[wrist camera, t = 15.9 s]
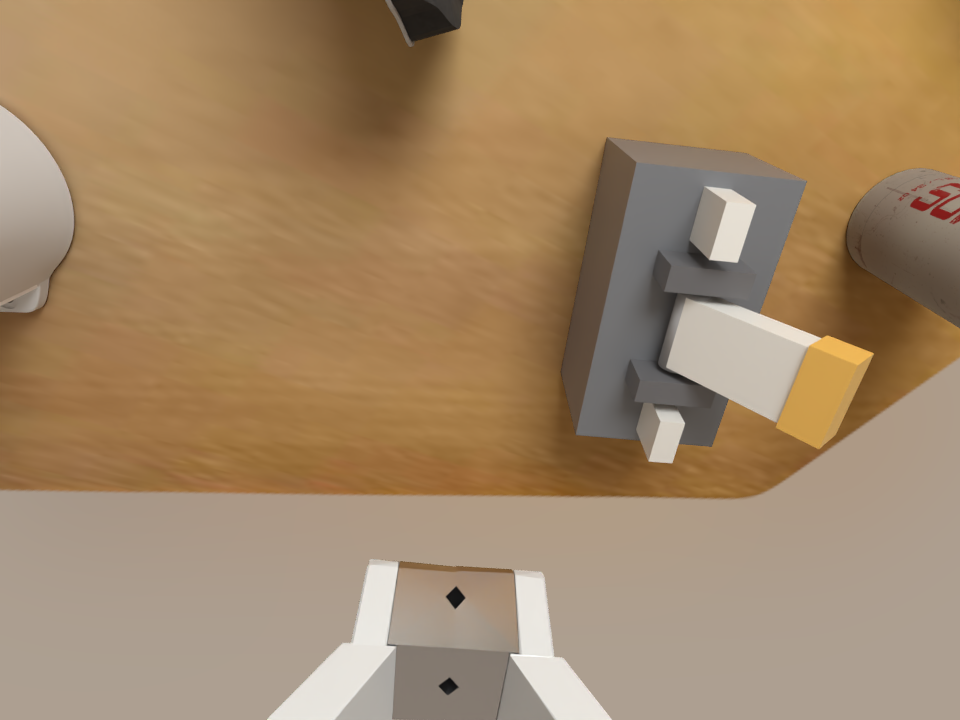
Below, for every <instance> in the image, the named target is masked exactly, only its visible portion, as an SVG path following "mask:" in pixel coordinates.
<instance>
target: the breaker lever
mask: <svg viewBox="0 0 960 720" xmlns="http://www.w3.org/2000/svg"><path fill="white" fill-rule="evenodd" d="M873 355H874V353H872V352H869V351H866V350H864V349H861V348H859V347H856V346H854V345H851V344H848V343H846V342H843V341H841V340H838V339H835V338H833V337H830V336H828V335H827V336H825V337H823V338H820V337H817V336H814V335H812V334H809V333H807V332H804V331H802V330H799V329H797V328H794V327H792V326H789V325H786V324H784V323H781V322H779V321H776V320H774V319H771V318H769V317H766V316H763V315H761V314H758V313H756V312H753V311H751V310H748V309H746V308H743V307H741V306H738V305H735V304H733V303H730V302H728V301H725V300H723V299H720V298H718V297H713V296H703V295H693V294H683V293H678V294H677V297H676V301H675V304H674V308H673V311H672V315H671V318H670V322H669V325H668V329H667V332H666V336H665V339H664V343H663V346H662V350H661V354H660V357H659V361H658V364H659V366H660V367H661V368H663V369H664V370H666V371H669V372H672V373H677V374H680V375H682V376H684V377H686V378H688V379H690V380H692V381H694V382H696V383H698V384H700V385H702V386H704V387H706V388H708V389H710V390H712V391H714V392H716V393H718V394H720V395H722V396H724V397H726V398H728V399H730V400H732V401H734V402H736V403H738V404H740V405H742V406H744V407H746V408H748V409H750V410H752V411H754V412H756V413H758V414H760V415H762V416H764V417H766V418H768V419H770V420H772V421H774V422H776V423H777V425H776V428H777V429H779V430H781V431H783V432H785V433H787V434H789V435H791V436H793V437H795V438H797V439H799V440H801V441H803V442H805V443H807V444H809V445H811V446H813V447H815V448H817V449H820V448H821V447H822V446H823V445H824V444H826V443H827V442H828V441H829V440H830V439H831V438H833V437H834V436H835V435H836V433H837V431H838V429H839V427H840V424H841V422H842V420H843V418H844V416H845V414H846V412H847V410H848V408H849V406H850V403H851V401H852V399H853V397H854V395H855V393H856V391H857V389H858V387H859V384H860V382H861V380H862V378H863V376H864V374H865V372H866V370H867V368H868V366H869V363H870V361H871V359H872V357H873Z"/></svg>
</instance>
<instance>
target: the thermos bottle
mask: <svg viewBox="0 0 960 720" xmlns="http://www.w3.org/2000/svg"><path fill="white" fill-rule="evenodd" d="M847 246H848V250H849V253H850V255H851V256H852V258H853V260H854V261H855V262H856V263H857V264H858V265H859V266H860V267H862V268H864V269H865V270H867V271H868V272H870V273H872V274H873V275H875V276H876V277H878V278H880V279H881V280H883V281H885V282H886V283H888V284H889V285H891V286H893V287H894V288H896V289H897V290H899V291H901V292H902V293H904V294H906V295H907V296H909V297H910V298H912V299H914V300H915V301H917V302H918V303H920V304H922V305H923V306H925V307H927V308H928V309H930V310H931V311H933V312H935V313H936V314H938V315H939V316H941V317H943V318H944V319H946V320H947V321H949V322H951V323H952V324H954V325H955V326H957V327H959V328H960V178H958V177H955V176H952V175H948V174H945V173H942V172H939V171H935V170H932V169H923V168H918V169H909V170H906V171H902V172H899V173H896V174H894V175H892V176H890V177H887V178H886V179H884V180H883V181H881V182H880V183H878V184H877V185H875V186H874V187H873V188H872V189H871V190H870V191H869V192H867V193H866V195H865V196H864V197H863V198H862V199H861V201H860V202H859V203H858V205H857V206H856V208H855V210H854V211H853V213H852V216H851V218H850V221H849V223H848V229H847Z"/></svg>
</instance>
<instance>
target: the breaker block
mask: <svg viewBox="0 0 960 720" xmlns="http://www.w3.org/2000/svg"><path fill="white" fill-rule="evenodd" d="M806 183H807V181H805V180H803V179H801V178H799V177H796V176H794V175H792V174H790V173H788V172H786V171H783V170H781V169H779V168H777V167H775V166H773V165H770V164H768V163H766V162H764V161H762V160H760V159H757V158H755V157H753V156H751V155H749V154H747V153H739V152H730V151H722V150H713V149H704V148H695V147H686V146H678V145H669V144H660V143H651V142H642V141H634V140H625V139H616V138H607V140H606V145H605V151H604V156H603V161H602V166H601V171H600V176H599V181H598V186H597V191H596V196H595V201H594V206H593V211H592V216H591V222H590V227H589V232H588V237H587V242H586V247H585V252H584V257H583V262H582V267H581V272H580V277H579V282H578V287H577V293H576V298H575V303H574V308H573V313H572V318H571V323H570V328H569V333H568V338H567V343H566V348H565V353H564V359H563V364H562V369H561V376H562V380H563V384H564V388H565V392H566V396H567V401H568V405H569V409H570V413H571V417H572V421H573V426H574V430H575V434H576V435H583V436H594V437H606V438H617V439H629V440H640V441H641V443H642V446H643V449H644V451H645V454H646V456H647V459H648V461H651V462H662V463H672V462H673V459H674V456H675V453H676V450H677V447H678V444H686V445H698V446H709V447H712V444H713V441H714V439H715V436H716V433H717V430H718V428H719V425H720V422H721V419H722V416H723V414H724V411H725V408H726V405H727V403H728V400H729V399H728V398H726V397H724V396H722V395H720V394H718V393H716V392H714V391H712V390H710V389H708V388H706V387H704V386H702V385H700V384H698V383H696V382H694V381H692V380H690V379H688V378H686V377H684V376H682V375H680V374H677V373H672V372H669V371H666V370H664V369H663V368H661V367H660V366H659V364H658V361H659V357H660V354H661V350H662V346H663V343H664V339H665V336H666V332H667V329H668V325H669V322H670V318H671V315H672V311H673V308H674V304H675V301H676V297H677V294H678V293H683V294H693V295H703V296H713V297H718V298H720V299H723V300H725V301H728V302H730V303H733V304H735V305H738V306H741V307H743V308H746V309H748V310H751V311H753V312H756V313H758V314H760V311H761V308H762V305H763V302H764V300H765V297H766V294H767V291H768V288H769V286H770V283H771V280H772V277H773V275H774V272H775V269H776V266H777V263H778V261H779V258H780V255H781V252H782V250H783V247H784V244H785V241H786V238H787V236H788V233H789V230H790V227H791V224H792V222H793V219H794V216H795V213H796V211H797V208H798V205H799V202H800V199H801V197H802V194H803V191H804V188H805V186H806Z"/></svg>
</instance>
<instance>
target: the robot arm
mask: <svg viewBox="0 0 960 720" xmlns="http://www.w3.org/2000/svg"><path fill="white" fill-rule="evenodd" d="M73 231H74V211H73V205H72V200H71V196H70V193H69V189H68V187H67V184H66V181H65V179H64V177H63V175H62V173H61V171H60V169H59V167H58V165H57V164H56V162H55V160H54V159H53V157H52V156H51V154H50V153H49V151H48V150H47V149H46V147H45V146H44V145H43V143H42V142H41V141H40V140H39V139H38V137H37V136H36V135H35V134H34V133H33V132H32V131H31V130H30V129H29V128H28V127H27V126H26V125H25V124H24V123H23V122H22V121H20V120H19V119H18V118H17V117H16V116H14V115H13V114H12V113H11V112H9V111H8V110H6V109H5V108H4V107H2V106H1V105H0V312H20V313H28V312H32V311H34V310H37V309H39V308H41V307H42V306H43V305H44V304H45V302H46V299H47V295H48V288H49V278H50V276H51V274H52V273H53V271H54V270H55V268H56V267H57V266H58V265H59V263H60V262H61V261H62V260H63V258H64V257H65V255H66V253H67V251H68V249H69V247H70V244H71V241H72V237H73ZM392 719H396V720H397V719H399V720H612V719H611V718H610V717H609V715H608V714H607V713H606V712H605V710H604V709H603V708H602V706H601V705H600V704H599V703H598V701H597V700H596V699H595V698H594V696H593V695H592V694H591V693H590V691H589V690H588V689H587V687H586V686H585V685H584V684H583V682H582V681H581V680H580V679H579V677H578V676H577V675H576V673H575V672H574V671H573V670H572V668H571V667H570V666H569V665H568V663H567V662H566V661H565V660H564V658H562V657H554V651H553V643H552V635H551V626H550V618H549V611H548V602H547V595H546V586H545V578H544V575H543V574H542V572H536V571H522V570H513V571H512V570H511V569H495V568H479V567H463V566H456V567H452V566H443V565H432V564H423V563H413V562H403V561H400V562H399V561H389V560H377V559H370V561H369V564H368V566H367V569H366V574H365V579H364V584H363V589H362V593H361V598H360V603H359V607H358V612H357V617H356V622H355V626H354V631H353V636H352V641H351V643H341V644H340V646H338V647H337V648H336V649H335V651H333V652H332V653H331V654H330V655H329V656H328V657H327V659H325V660H324V662H323V663H322V664H321V665H320V666H319V667H318V668H317V669H316V670H315V671H314V672H313V673H312V674H311V675H310V676H309V677H308V678H307V679H306V680H305V681H304V682H303V683H302V684H301V685H300V686H299V687H298V688H297V689H296V690H295V691H294V692H293V693H292V694H291V695H290V696H289V697H288V698H287V699H286V700H285V701H284V702H283V703H282V704H281V705H280V707H278V708H277V709H276V711H275V712H273V713H272V715H270V716H269V718H268V719H267V720H392Z"/></svg>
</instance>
